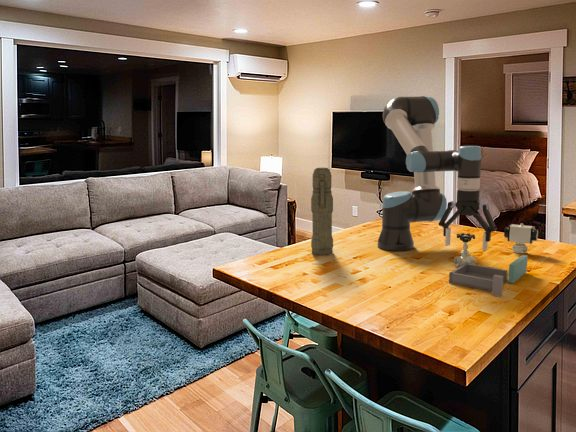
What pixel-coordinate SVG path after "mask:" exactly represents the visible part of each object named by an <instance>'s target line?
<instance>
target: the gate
mask: <svg viewBox="0 0 576 432" xmlns="http://www.w3.org/2000/svg"><path fill="white" fill-rule="evenodd" d="M528 256H529V255H525V254H522V255H520V256H519V257H518V258H516V259H515V260H514V261H512V262H510V264H508V266H509V267H508V276H507V283H510V284H514V283H515V282H516V281H518V280H519V279H520V278H522V277H523V276H524V275H525V274H526V273H527V270H528V269H527V268H528V259H529V258H528Z"/></svg>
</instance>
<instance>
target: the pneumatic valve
mask: <svg viewBox="0 0 576 432" xmlns="http://www.w3.org/2000/svg"><path fill="white" fill-rule="evenodd" d="M503 236H504V238H505V239H506V240H507V242H513V243H514V244H513V245H512V251H513V253H515V254H520V255H521V254H522V255H524V254H525V253H528V249H529V248H528V246H527V245H526V244H529V245H532V244H533V242H535V241H536V242H537V241H538V237H539V230H538V229H536V227H535V226H534V225H533V226H532V225H525V224H524V223H520V224H513V223H511V224H509V225H508V226H506V227H504V234H503Z"/></svg>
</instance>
